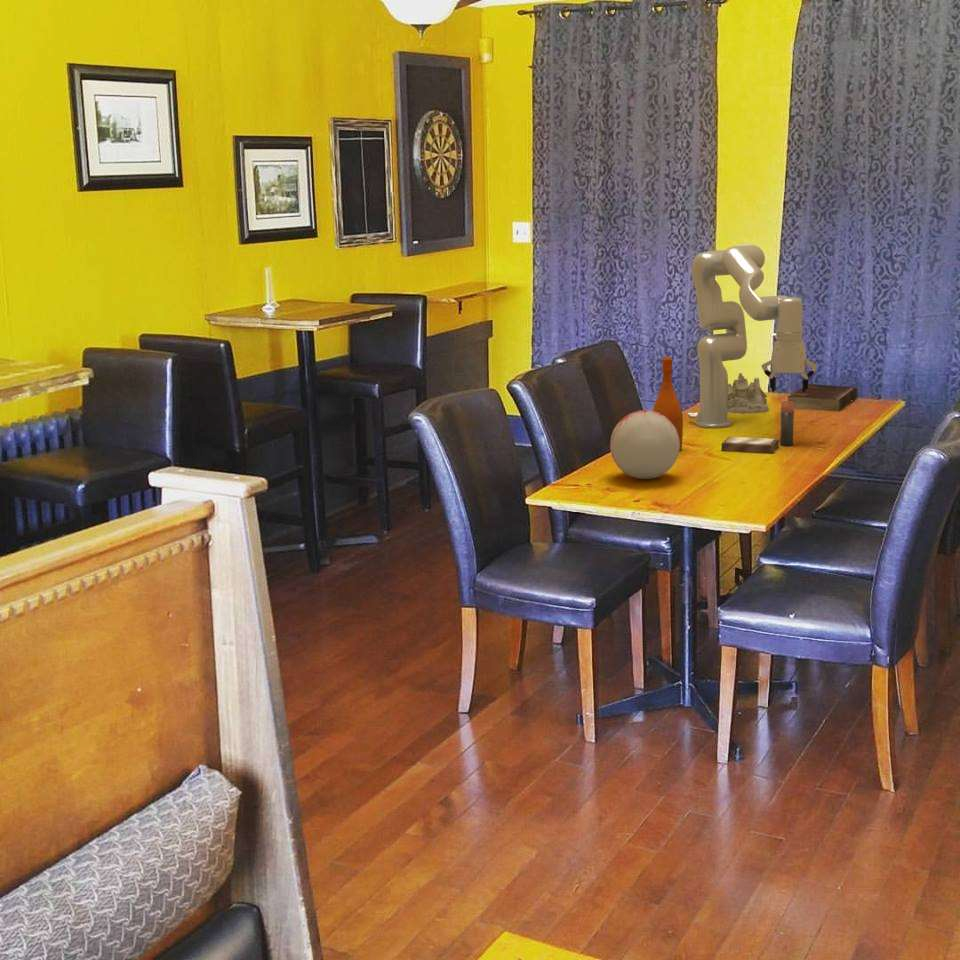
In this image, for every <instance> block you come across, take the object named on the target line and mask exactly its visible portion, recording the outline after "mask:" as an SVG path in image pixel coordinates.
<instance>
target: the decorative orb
mask: <svg viewBox="0 0 960 960" xmlns="http://www.w3.org/2000/svg"><path fill="white" fill-rule="evenodd" d="M609 449H610V454H611V457H612V459H613V462H614V463H615V464H616V466H617V467H618V469H619V470H620V471H621V472H623V473H624V474H626V475H628V476H629V477H632V478H633V479H638V480H652V479H655V478H658V477H660V476H663V475H664V474H666V473H667V472H668V471H670V470H671V468H672V467H673V466H674V464H675V463H676V461H677V459H678V456H679V453H680V450H681V449H680V441H679V435H678V432H677V430H676V428H675V427H674V425H673V424H672V422H671V421H670V420H669V419H668V418H666V417H665V416H663V415H662V414H660V413H657V412H654V411H653V410H647V409H643V410H636V411H633V412H631V413H628V414H627V415H625V416H623V418H621V420H619V422H618V423H617V424H616V425H615V427H614V429H613V431H612V433H611V436H610V441H609ZM679 449H680V450H679Z"/></svg>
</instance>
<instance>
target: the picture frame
mask: <svg viewBox="0 0 960 960" xmlns="http://www.w3.org/2000/svg"><path fill="white" fill-rule="evenodd" d="M778 448H779V439H777V438H776V439H775V438H767V437H766V438H763V437H762V438H761V437H747V436H745V437H744V436H743V437H741V436H728V437H727V438H726V439H725V440H724V441H722V443H721V452H731V451H732V452H735V453H749V452H751V454H752V452H753V454H771V455H772V454H774V453H775V452H776V450H777V449H778Z"/></svg>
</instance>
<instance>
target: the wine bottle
mask: <svg viewBox="0 0 960 960" xmlns="http://www.w3.org/2000/svg"><path fill="white" fill-rule="evenodd" d="M661 365H662V367H661V371H662V381H661V387H659V391H658V395H657V398H656V399H655V402H654V405H653V408H652V411H654V412H657V413H660V414H662V415H663V416H665V417H666V418H668V419H669V420H670V421H671V422H672V424H673V425H674V427H675V428H676V430H677V432H678V435H679V441H680V449H679V451H680V450H682V447H683V434H684V431H683V428H684V427H683V426H684V420H683V419H684V418H683V417H684V416H683V410H682V406H681V404H680V401H679V398H678V396H677V394H676V392H675V389H674V386H673V379H672V375H673V374H672V372H673V358H672V357H671V356H663V357H662V359H661Z"/></svg>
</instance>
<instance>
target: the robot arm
mask: <svg viewBox="0 0 960 960" xmlns="http://www.w3.org/2000/svg"><path fill="white" fill-rule="evenodd" d="M765 262H766V256H765V253H764V251H763V249H761V248H760V247H759V245H755V244H746V245H735V246H730V247H728V248H726V249H721V250H708V251H703V252H700V253H698V254H696V255H695V257H694V258H693V260H692V263H691V267H690V269H691V270H690V271H691V277H692V282H693V286H694V289H695V294H696V302H697V303H696V304H697V313H698V321H699V325H700V327H701V329H703V330H704V331H722V330H725V333H714V334H713V333H712V334H708V335H705V336H703V337H701V338H700V340H699V341H698V343H697V350H696V351H697V356H698V361H699V411H697V412H694V411H693V412H692V411H688V413H687V418H689V419H696V420H695V425H696V426H697V427H701V428H711V429H713V428H715V429H717V428H727V427H730V426H733V421H732V420H731V419H728V413H729V412H728V384H729V374H728V371H727V369H726V367H725V365H724V364H723V362H727V361H737V360H741V359H742V358H744V357H745V355H746V353H747V350H748V341H747V329H746V321H745V313H746V314H747V315H748V316H749V317H750V318H751V319H753V320H755V321H756V322H757V321H758V322H763V321H764V322H766V321H774V320H775V321H776V320H777V321H776V322H777V324H776V325H777V326H776V327H777V329H776V330H777V331H776V332H775V333H772V338H773V339H776V341H775V342H774V343H773V350H772V358H771V359H770V360H768V361H767V362H764V363H762V364H761V368H762V370H763V372H764V373H763V374H765V375H766V376H767V377H768V379H769V388H770V389H771V392H775V391H776V390H777V387H776V386H777V382H776V381H777V378H776V377H775V376H776V375H777V374H780V375H787V374H788V375H799V374H800V375H801V376H802V378H803V379H802V388H803V392H806V389H808V384H809V378H810V377H812V375H814V374H815V372H816V370H817V369H818V364H816V363H814V362H812V361H811V360H809V359H807V354H806V345H805V341H804V340H803V301H802V299H801V298H800V297H790V296H788V295H769V296H767V295H766V296H759V295H757V293H756V292H755V290H757V289H758V288H759V287H760V286H761V285H762V284H763V282H764V280H765V275H764V272H763V270H762V268H763V266H764V265H765ZM719 276H731V277H732V278H733V279H734V281H735V282H736V284H737V285H738V286H739V290H738V291H739V293H738V296H739V303H738V302H737V301H730V300H728V301H723V300H724V299H723V295H722V289H721V285H720V284H719V283H718V281H717V280H716V279H715V278H714V277H719ZM744 312H745V313H744ZM769 366H771V371H772V372H771V371H770V369H769V368H768V367H769ZM807 366H808V367H810V368H811V369H810V371H809V372H807V371H806V369H807Z"/></svg>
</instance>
